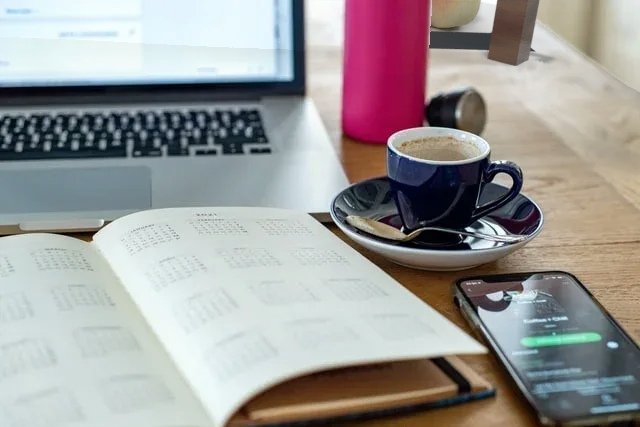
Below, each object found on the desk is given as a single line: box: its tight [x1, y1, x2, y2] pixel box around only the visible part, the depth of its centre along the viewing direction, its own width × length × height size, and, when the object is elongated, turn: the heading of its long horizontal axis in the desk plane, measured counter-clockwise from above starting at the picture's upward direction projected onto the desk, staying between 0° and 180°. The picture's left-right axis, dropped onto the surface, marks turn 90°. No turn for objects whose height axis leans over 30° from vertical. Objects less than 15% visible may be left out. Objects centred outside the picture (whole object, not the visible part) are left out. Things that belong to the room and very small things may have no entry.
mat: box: [428, 30, 536, 53], centre depth 125 cm, size 16×9×1 cm, turn 99°
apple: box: [430, 0, 482, 29], centre depth 132 cm, size 9×9×8 cm
